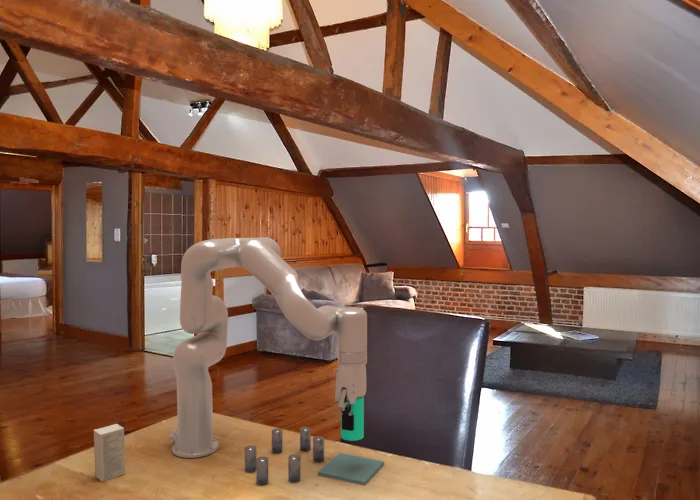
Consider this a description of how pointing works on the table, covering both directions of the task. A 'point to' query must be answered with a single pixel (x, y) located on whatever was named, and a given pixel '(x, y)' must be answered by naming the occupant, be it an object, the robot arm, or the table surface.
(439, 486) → the table surface
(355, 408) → the candle
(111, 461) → the skincare box
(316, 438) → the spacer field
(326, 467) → the mat
